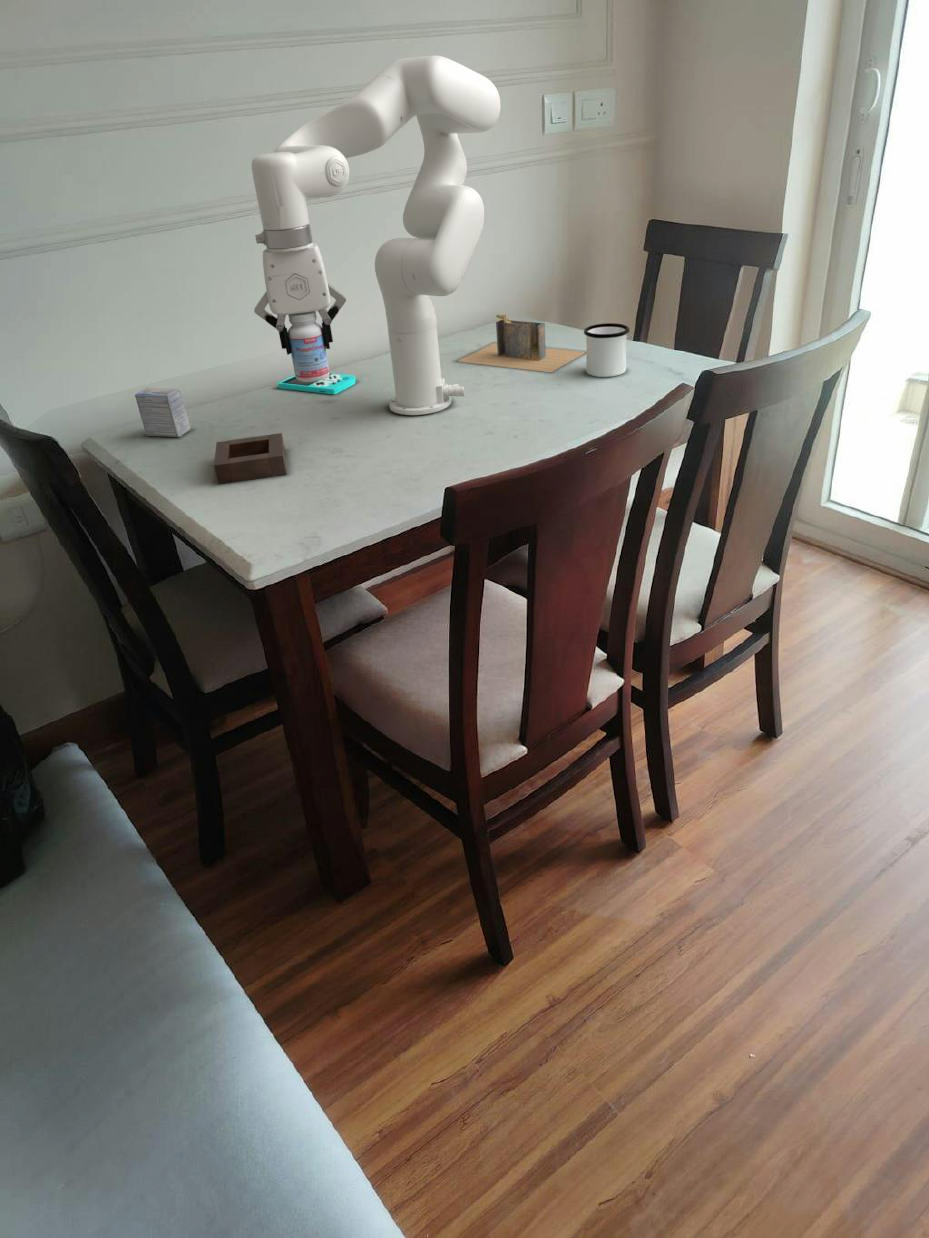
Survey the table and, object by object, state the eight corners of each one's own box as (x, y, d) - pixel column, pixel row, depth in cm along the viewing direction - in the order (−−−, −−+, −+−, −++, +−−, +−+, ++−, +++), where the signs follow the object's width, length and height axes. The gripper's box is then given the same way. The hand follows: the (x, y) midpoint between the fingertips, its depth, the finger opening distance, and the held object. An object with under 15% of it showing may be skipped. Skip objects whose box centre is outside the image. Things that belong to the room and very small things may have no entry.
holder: (285, 450, 163) (281, 432, 161) (286, 474, 153) (282, 455, 152) (220, 460, 162) (216, 441, 160) (218, 484, 152) (213, 465, 150)
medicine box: (191, 430, 177) (181, 388, 173) (178, 438, 174) (167, 395, 169) (158, 428, 180) (147, 386, 175) (145, 436, 176) (133, 394, 172)
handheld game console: (333, 395, 190) (332, 388, 189) (276, 388, 197) (275, 382, 196) (360, 381, 197) (360, 375, 196) (304, 375, 204) (303, 369, 204)
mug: (616, 380, 183) (617, 336, 178) (576, 376, 188) (575, 332, 183) (640, 364, 191) (642, 321, 187) (601, 360, 196) (601, 318, 191)
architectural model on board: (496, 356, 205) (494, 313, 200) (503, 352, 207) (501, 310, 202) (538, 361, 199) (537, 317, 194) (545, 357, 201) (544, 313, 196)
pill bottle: (302, 385, 152) (289, 319, 146) (291, 377, 157) (279, 312, 151) (335, 377, 154) (324, 312, 148) (323, 370, 159) (312, 305, 153)
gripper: (234, 249, 139) (258, 362, 149) (343, 235, 141) (359, 348, 151) (235, 241, 146) (258, 350, 155) (339, 229, 147) (356, 337, 157)
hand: (308, 348), depth 153 cm, fingers closed on pill bottle, 6 cm apart
